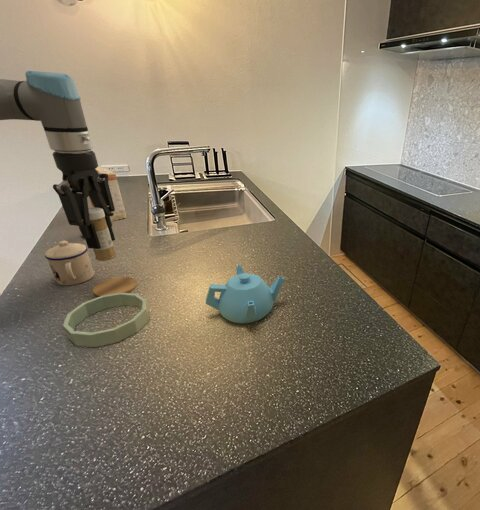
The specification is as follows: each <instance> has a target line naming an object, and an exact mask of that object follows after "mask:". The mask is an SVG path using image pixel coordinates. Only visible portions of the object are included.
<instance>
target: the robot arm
mask: <svg viewBox="0 0 480 510" xmlns="http://www.w3.org/2000/svg"><path fill="white" fill-rule="evenodd" d="M8 120H9V121H10V120H11V121H12V120H18V121H19V120H20V121H35V122H40V123H41V126H42V128H43V131H44V133H45V137H46V140H47V143H48V146H49V149H50V150H51V151H53V153H52V157H53V160H54V164H55V166H56V168H57V169H58V170H59V171H60V172H61V173H62V179H61V180H62V181H61V182H60V183H58V184H57V183H56V184H52V189H53V190H54V191H55V193H56V194H57V195H58V198H59V200H60V204H61V206H62V208H63V211H64V214H65V217H66V219H67V223H68V224H69V225H70V226H76V227H78V228H79V227H80V230H81V231H80V230H79V231H80V234H81V237H84V239H85V242H86V245H87V246H86V247H87V249H92V250H93V249H100V248H101V246H100V243H99V240H98V237H97V233H96V230H95V227H94V224H90V218H89V210H88V208H89V202H88V198H89V197H90V198H89V200H90V199H91V201H92V203H93V205H94V207H95V208H102V209H103V211H104V214H105V220H106V223H107V226H108V229H109V232H110V236H111V239H112V242H115V241H116V237H115V235H114V231H113V222H111V219H110V216H113V215H114V214H113V213H111V212H114V211H115V208H114V204H113V200H112V196H111V192H110V188H109V184H108V174H104V173H98V172H97V170H96V169H95V168H97V167H98V166H99V163H98V159H97V156H96V153H95V151H93V150H92V149H94V146H93V144H92V140H91V136H90V133H89V129H88V126H87V121H86V118H85V114H84V111H83V107H82V102H81V96H80V95H79V92H78V89H77V86H76V83H75V80H74V78H72V76H70V75H69V74H66V73H62V72H60V73H59V72H51V71H38V70H27V71H26V72H25V80H13V79H4V78H0V121H8ZM91 201H90V202H91ZM107 206H109V207H107Z"/></svg>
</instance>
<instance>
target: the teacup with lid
mask: <svg viewBox="0 0 480 510" xmlns="http://www.w3.org/2000/svg"><path fill="white" fill-rule="evenodd" d="M44 258H45V259H46V260H47V262H48V264H49V267H50V270H51V272H52V274H53V277H54V280H55V282H56V283H57V284H58V285H61V286H76V285H79V284H82V283H85V282H88V281H89V280H91V279H92V278H93V277H94V276H95V270H94V268H93V265H92V261H91V259H90V255H89V253H88V246H86V245H84V244H83V243H78V242H77V243H76V242H73V243H72V242H69V241H68V240H61V241H59V242H58V244H57V245H55V246H53V247H51V248H49V249H48V250H46V251H45V254H44Z"/></svg>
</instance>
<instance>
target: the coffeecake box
mask: <svg viewBox="0 0 480 510" xmlns="http://www.w3.org/2000/svg"><path fill="white" fill-rule="evenodd" d="M95 169H96V170H97V172H98V173H104V174H108V184H109V188H110V192H111V196H112V200H113V204H114V208H115V211H114V212H111V213H113V214H114V215H113V216H110V219H111V221H112V222H115V221H114V220H116V221H120V220H124V219H123V218H125V219H127V218H128V215H127V213H126V208H125V206H124V201H123V196H122V194H121V190H120V186H119V182H118V179H117V175H116V172H114V171H111V170H109V169H106V168H104V167H101V166H99V165H98V167H97V168H95ZM88 199H89V201H90V204H91V208H95V207H94V205H93V203H92V201H91V199H90V197H89V196H88ZM107 207H109V206H107ZM119 219H120V220H119Z"/></svg>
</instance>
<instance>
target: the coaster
mask: <svg viewBox="0 0 480 510" xmlns="http://www.w3.org/2000/svg"><path fill="white" fill-rule="evenodd" d="M136 287H137V280H136V279H135V278H133V277H130V276H116V277H111V278H108V279H105V280H103V281H101V282H99V283H97V284H96V285H95V286H94V287H93V288H92V294H93V295H94V297H95V298H97V297H100V296H104V295H110V294H116V293H131V292H132V291H134V289H135V288H136Z"/></svg>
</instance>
